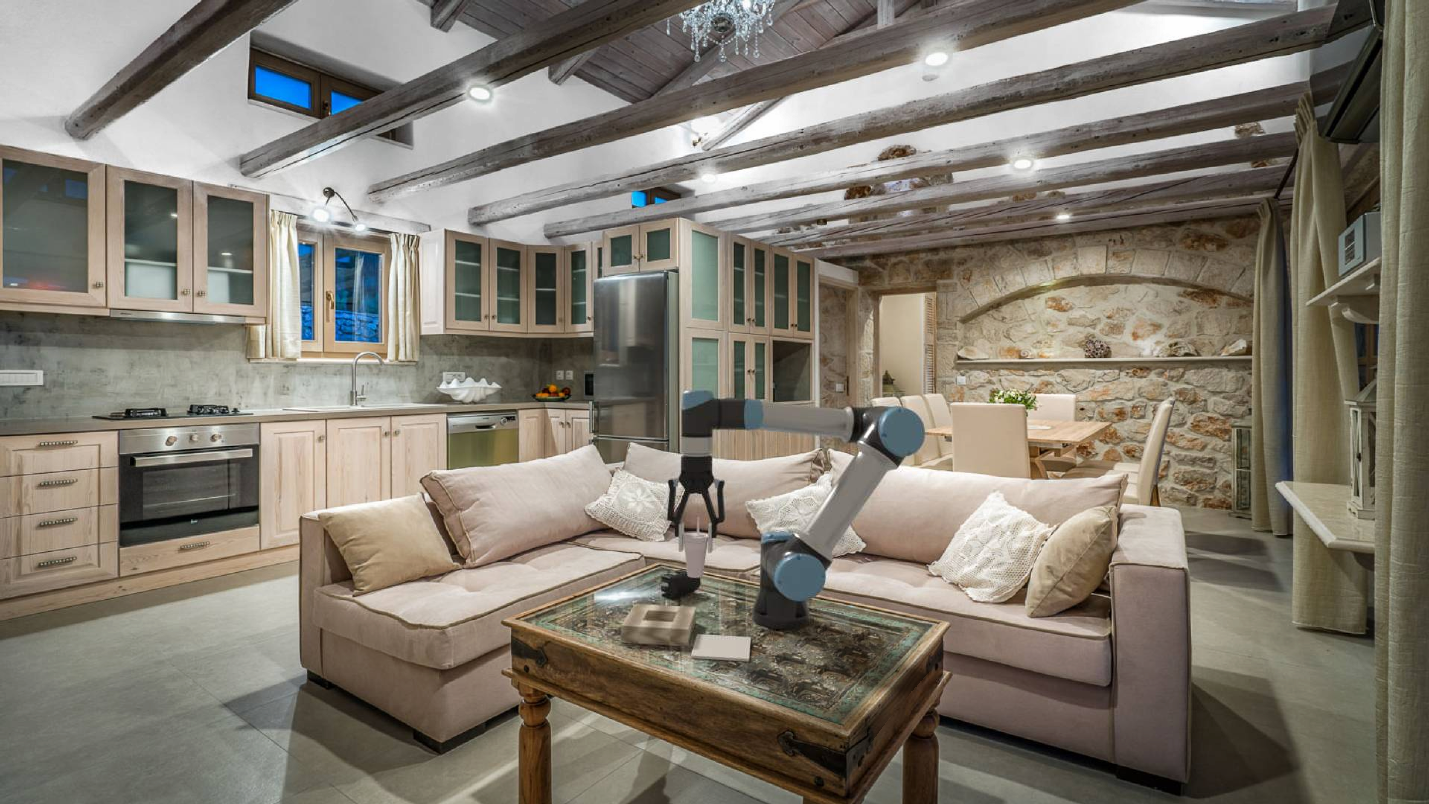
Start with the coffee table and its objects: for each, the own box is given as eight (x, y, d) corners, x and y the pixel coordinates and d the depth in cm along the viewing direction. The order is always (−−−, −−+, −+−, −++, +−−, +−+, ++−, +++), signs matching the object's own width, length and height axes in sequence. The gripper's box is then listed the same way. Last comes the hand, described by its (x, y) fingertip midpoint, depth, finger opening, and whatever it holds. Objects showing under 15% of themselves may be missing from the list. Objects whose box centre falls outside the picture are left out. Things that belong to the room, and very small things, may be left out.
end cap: (677, 602, 185) (677, 578, 185) (659, 596, 190) (660, 573, 190) (700, 594, 193) (701, 571, 192) (683, 589, 197) (683, 567, 197)
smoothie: (711, 578, 154) (712, 519, 154) (684, 580, 152) (685, 520, 152) (705, 571, 160) (705, 514, 160) (679, 572, 159) (680, 515, 158)
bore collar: (695, 622, 169) (695, 607, 169) (687, 646, 153) (688, 629, 153) (634, 619, 170) (634, 603, 170) (620, 642, 154) (620, 625, 154)
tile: (750, 639, 158) (750, 637, 158) (748, 661, 145) (749, 658, 145) (697, 636, 159) (697, 634, 159) (690, 658, 146) (690, 655, 146)
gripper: (738, 454, 158) (737, 548, 159) (660, 452, 161) (659, 545, 161) (735, 457, 151) (734, 556, 151) (653, 455, 153) (652, 553, 154)
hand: (695, 550), depth 156 cm, fingers closed on smoothie, 6 cm apart
